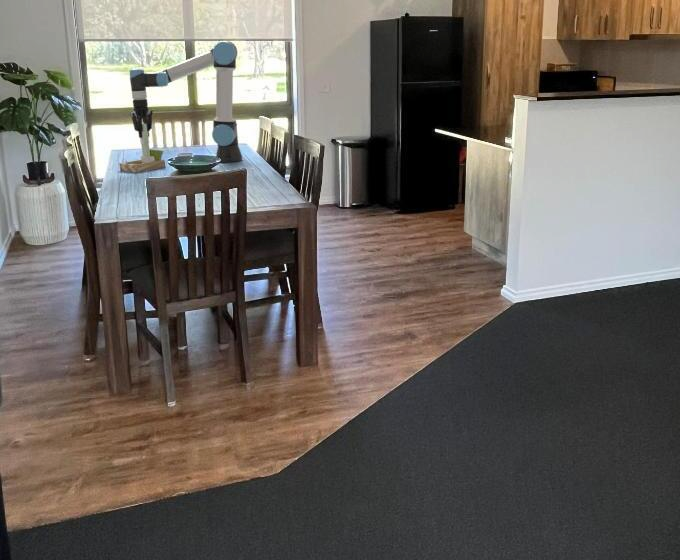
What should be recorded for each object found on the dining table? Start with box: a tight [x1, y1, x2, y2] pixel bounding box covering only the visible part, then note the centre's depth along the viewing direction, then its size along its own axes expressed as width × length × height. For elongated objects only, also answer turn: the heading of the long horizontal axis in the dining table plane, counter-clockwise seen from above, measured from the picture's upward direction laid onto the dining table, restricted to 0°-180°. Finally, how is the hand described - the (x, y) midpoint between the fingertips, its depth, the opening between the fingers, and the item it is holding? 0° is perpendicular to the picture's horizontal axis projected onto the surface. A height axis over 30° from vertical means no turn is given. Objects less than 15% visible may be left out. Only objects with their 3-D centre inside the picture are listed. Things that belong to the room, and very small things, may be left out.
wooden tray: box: [118, 159, 167, 173], centre depth 402 cm, size 15×19×4 cm
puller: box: [140, 122, 155, 164], centre depth 401 cm, size 11×2×24 cm, turn 49°
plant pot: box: [149, 148, 165, 161], centre depth 407 cm, size 9×9×9 cm
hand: (145, 143), depth 401 cm, fingers closed on puller, 2 cm apart
